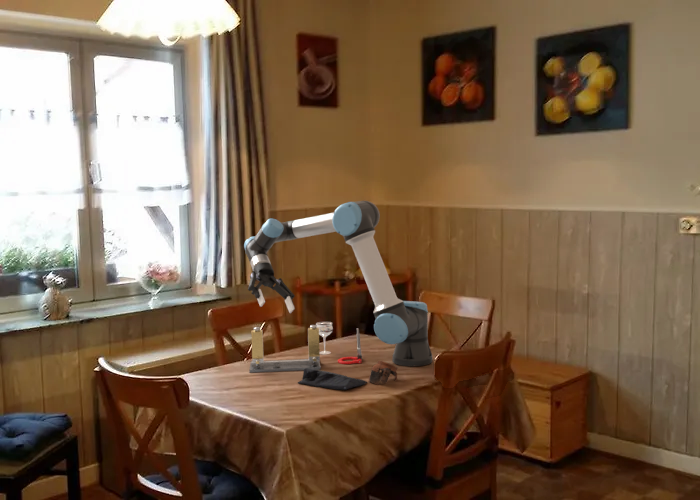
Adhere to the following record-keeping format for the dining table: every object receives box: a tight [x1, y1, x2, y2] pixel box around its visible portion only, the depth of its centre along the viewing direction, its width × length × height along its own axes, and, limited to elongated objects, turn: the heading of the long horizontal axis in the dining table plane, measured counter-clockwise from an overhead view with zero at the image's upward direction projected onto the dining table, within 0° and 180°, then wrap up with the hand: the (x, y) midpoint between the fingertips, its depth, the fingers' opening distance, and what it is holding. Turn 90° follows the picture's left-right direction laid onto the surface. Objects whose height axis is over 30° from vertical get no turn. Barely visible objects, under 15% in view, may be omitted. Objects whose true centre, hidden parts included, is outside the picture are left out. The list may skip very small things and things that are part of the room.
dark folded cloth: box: [297, 368, 368, 391], centre depth 262 cm, size 15×22×5 cm
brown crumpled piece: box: [368, 360, 398, 386], centre depth 261 cm, size 12×10×8 cm
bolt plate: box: [249, 324, 321, 373], centre depth 283 cm, size 26×12×15 cm, turn 95°
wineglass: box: [315, 321, 334, 355], centre depth 302 cm, size 7×7×12 cm
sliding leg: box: [250, 326, 265, 366], centre depth 281 cm, size 4×7×13 cm, turn 5°
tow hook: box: [337, 328, 363, 365], centre depth 288 cm, size 8×13×9 cm
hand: (277, 307), depth 282 cm, fingers open, 13 cm apart
